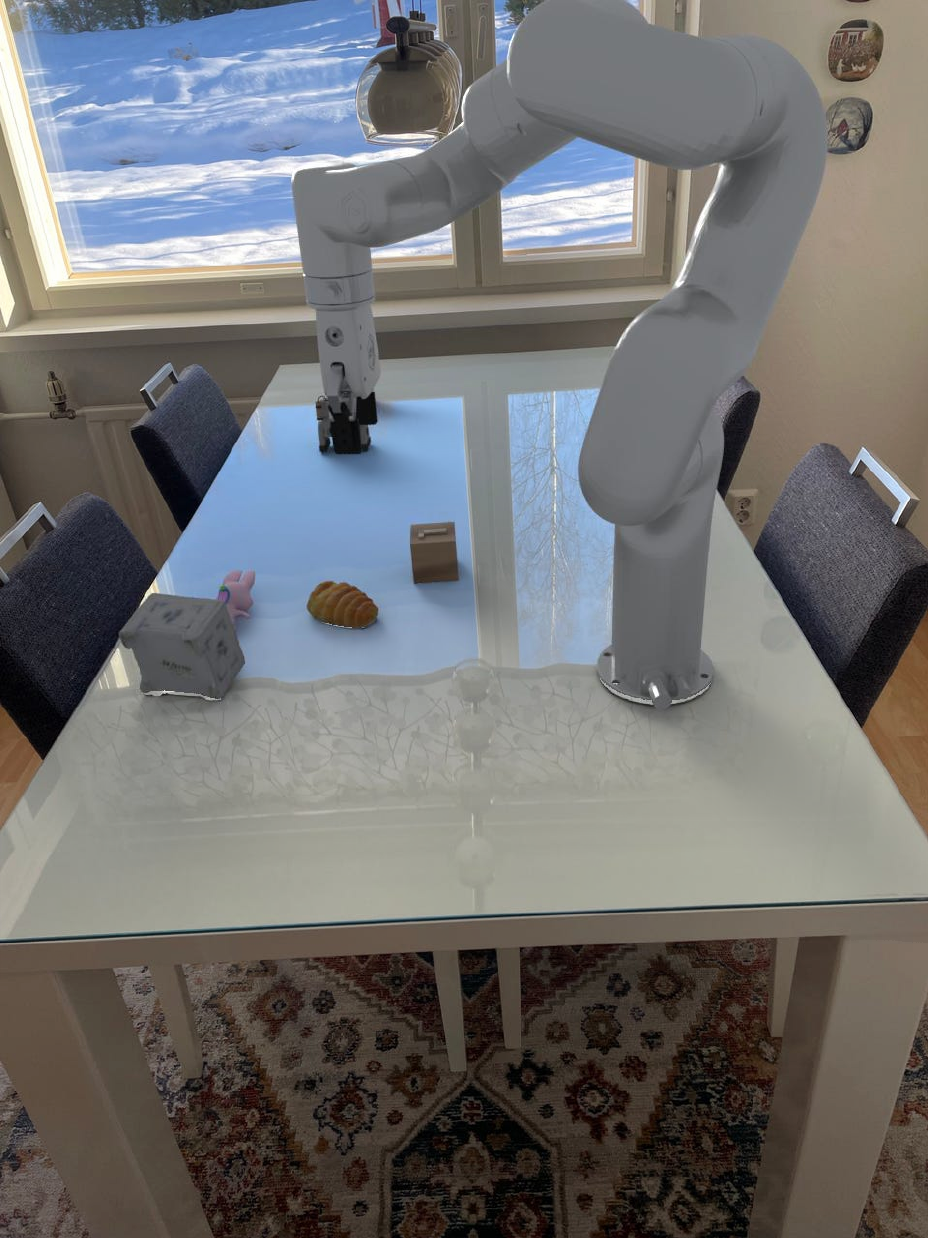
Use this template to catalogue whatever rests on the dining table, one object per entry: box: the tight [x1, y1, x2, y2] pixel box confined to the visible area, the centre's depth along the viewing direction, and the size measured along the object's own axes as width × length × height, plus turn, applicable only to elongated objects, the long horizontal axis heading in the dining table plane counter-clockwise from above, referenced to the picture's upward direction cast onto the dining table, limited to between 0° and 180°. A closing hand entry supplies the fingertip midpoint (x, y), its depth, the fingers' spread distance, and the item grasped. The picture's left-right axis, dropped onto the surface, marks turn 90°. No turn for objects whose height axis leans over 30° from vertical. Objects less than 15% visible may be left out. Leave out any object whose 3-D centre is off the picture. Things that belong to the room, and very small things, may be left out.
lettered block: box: [409, 521, 459, 585], centre depth 126 cm, size 6×6×6 cm
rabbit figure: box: [214, 569, 256, 634], centre depth 119 cm, size 6×6×15 cm
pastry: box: [306, 580, 379, 629], centre depth 118 cm, size 9×7×4 cm
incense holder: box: [118, 592, 246, 699], centre depth 105 cm, size 10×8×10 cm
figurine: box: [315, 391, 372, 453], centre depth 170 cm, size 9×12×15 cm
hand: (356, 438), depth 111 cm, fingers open, 9 cm apart
